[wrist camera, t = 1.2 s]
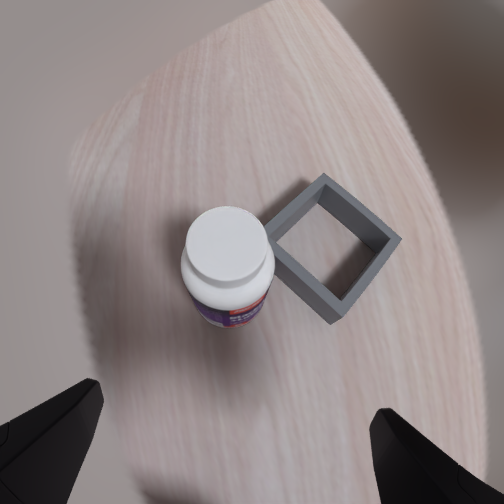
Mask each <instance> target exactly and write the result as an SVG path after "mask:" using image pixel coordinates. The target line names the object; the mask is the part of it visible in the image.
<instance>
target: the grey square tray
mask: <svg viewBox="0 0 504 504" xmlns="http://www.w3.org/2000/svg"><path fill="white" fill-rule="evenodd" d="M316 203H319V204H320V205H321V206H322V207H323V208H325V209H326V210H327V211H328V212H329V213H331V214H332V215H333V216H334V217H335V218H337V219H338V220H339V221H340V222H341V223H342V224H344V225H345V226H346V227H347V228H348V229H349V230H351V231H352V232H353V233H354V234H355V235H356V236H357V237H359V238H360V239H361V240H362V241H363V242H364V243H365V244H366V245H368V246H369V247H370V248H371V249H372V250H373V251H374V252H375V253H376V254H375V255H374V257H373V258H372V259H371V261H370V262H369V263H368V264H367V266H366V267H365V268H364V270H363V271H362V272H361V273H360V275H359V276H358V277H357V278H356V280H355V281H354V282H353V283H352V284H351V286H350V287H349V288H348V289H347V291H346V292H345V293H344V294H343V295H342V297H341V298H340V299H338V298H337V297H336V296H335V295H334V294H333V293H331V292H330V291H329V290H328V289H327V288H326V287H325V286H324V285H323V284H322V283H320V282H319V281H318V280H317V279H316V278H315V277H314V276H313V275H312V274H310V273H309V272H308V271H307V270H306V269H305V268H304V267H303V266H302V265H300V264H299V263H298V262H297V261H296V260H295V259H294V258H293V257H291V256H290V255H289V254H288V253H287V252H286V251H285V250H284V249H283V248H281V247H280V246H279V245H278V244H277V243H276V242H277V241H278V240H279V239H280V238H281V237H282V236H283V235H284V234H285V233H286V232H287V231H288V230H289V229H290V228H291V227H292V226H293V225H294V224H296V223H297V222H298V221H299V220H300V219H301V218H302V217H303V216H304V215H305V214H306V213H307V212H308V211H309V210H310V209H311V208H312V207H313V206H314V205H315V204H316ZM264 229H265V231H266V234H267V239H268V242H269V244H270V246H271V248H272V250H273V254H274V259H275V270H274V274H275V275H276V276H277V277H278V278H280V279H281V280H282V281H283V282H284V283H285V284H286V285H287V286H288V287H289V288H290V289H292V290H293V291H294V292H295V293H296V294H297V295H298V296H299V297H300V298H301V299H302V300H304V301H305V302H306V303H307V304H308V305H309V306H310V307H311V308H312V309H313V310H314V311H316V312H317V313H318V314H319V315H320V316H321V317H322V318H323V319H324V320H325V321H327V322H328V323H329V324H330V325H331V324H333V323H334V322H336V321H338V320H339V319H341V318H343V317H344V315H345V314H346V313H347V312H348V310H349V309H350V308H351V307H352V305H353V304H354V303H355V302H356V300H357V299H358V298H359V297H360V295H361V294H362V293H363V292H364V290H365V289H366V288H367V286H368V285H369V284H370V283H371V281H372V280H373V279H374V277H375V276H376V275H377V273H378V272H379V271H380V269H381V268H382V267H383V265H384V264H385V262H386V261H387V260H388V258H389V257H390V255H391V254H392V253H393V251H394V250H395V248H396V247H397V246H398V244H399V243H400V241H401V240H402V238H401V237H400V236H398V235H397V234H396V233H395V232H394V231H393V230H392V229H391V228H390V227H388V226H387V225H386V224H385V223H384V222H383V221H382V220H381V219H379V218H378V217H377V216H376V215H375V214H374V213H372V212H371V211H370V210H369V209H368V208H367V207H365V206H364V205H363V204H362V203H361V202H359V201H358V200H357V199H356V198H355V197H353V196H352V195H351V194H350V193H349V192H347V191H346V190H345V189H344V188H342V187H341V186H340V185H339V184H337V183H336V182H335V181H334V180H332V179H331V178H330V177H329V176H327V175H326V174H325V173H323V174H322V175H321V176H320V177H318V178H317V179H316V180H315V181H314V182H313V183H312V184H311V185H309V186H308V187H307V188H306V189H305V190H304V191H303V192H302V193H300V194H299V195H298V196H297V197H296V198H295V199H294V200H293V201H291V202H290V203H289V204H288V205H287V206H286V207H285V208H284V209H283V210H281V211H280V212H279V213H278V214H277V215H276V216H275V217H274V218H273V219H271V220H270V221H269V222H268V223H267V224H266V225H265V226H264Z"/></svg>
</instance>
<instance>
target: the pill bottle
mask: <svg viewBox="0 0 504 504" xmlns="http://www.w3.org/2000/svg"><path fill="white" fill-rule="evenodd" d="M274 270H275V259H274V254H273V250H272V248H271V246H270V244H269V242H268V239H267V234H266V231H265V229H264V227H263V225H262V224H261V222H260V221H259V220H258V219H257V218H256V217H255V216H254V215H253V214H251V213H250V212H248V211H246V210H244V209H241V208H238V207H233V206H222V207H217V208H213V209H210V210H208V211H206V212H204V213H203V214H201V215H200V216H199V217H197V218H196V220H195V221H194V222H193V223H192V225H191V226H190V228H189V230H188V233H187V237H186V245H185V247H184V249H183V252H182V256H181V273H182V277H183V280H184V283H185V285H186V287H187V290H188V292H189V294H190V296H191V297H192V300H193V301H194V304H195V306H196V307H197V309H198V311H199V312H200V314H201V315H202V316H203V317H204V318H205V319H206V320H207V321H208V322H210V323H211V324H213V325H216V326H219V327H223V328H236V327H240V326H243V325H245V324H247V323H249V322H250V321H251V320H253V319H254V318H255V317H256V315H257V314H258V313H259V311H260V310H261V308H262V306H263V303H264V300H265V298H266V295H267V292H268V290H269V287H270V285H271V282H272V279H273V275H274Z"/></svg>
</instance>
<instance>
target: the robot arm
mask: <svg viewBox="0 0 504 504" xmlns="http://www.w3.org/2000/svg"><path fill="white" fill-rule="evenodd" d="M103 403H104V398H103V394H102V390H101V387H100V383H99V382H98V381H97V380H93V379H90V378H87V379H84V380H83V381H81V382H79V383H77V384H76V385H74V386H72V387H70V388H68V389H67V390H65V391H63V392H61V393H60V394H58V395H56V396H54V397H53V398H51V399H49V400H47V401H45V402H44V403H42V404H40V405H38V406H36V407H34V408H33V409H31V410H29V411H27V412H25V413H23V414H22V415H20V416H18V417H16V418H14V419H12V420H10V422H7V423H5V424H3V425H1V426H0V504H67V501H68V498H69V496H70V493H71V491H72V488H73V486H74V483H75V481H76V478H77V476H78V473H79V471H80V468H81V466H82V463H83V461H84V458H85V456H86V454H87V451H88V449H89V447H90V444H91V442H92V439H93V436H94V433H95V430H96V426H97V423H98V419H99V416H100V413H101V410H102V407H103ZM369 431H370V440H371V449H372V458H373V467H374V472H375V477H376V481H377V486H378V491H379V495H380V500H381V504H504V494H502V493H501V492H499V491H497V490H496V489H494V488H492V487H491V486H489V485H487V484H486V483H484V482H483V481H481V480H480V479H478V478H477V477H475V476H474V475H472V474H471V473H470V472H468V471H467V470H466V469H464V468H463V467H462V466H461V465H458V463H457V462H456V461H454V460H453V459H452V458H451V457H449V456H448V455H447V454H446V453H444V452H443V451H442V450H441V449H440V448H438V447H437V446H436V445H435V444H433V443H432V442H431V441H430V440H429V439H427V438H426V437H425V436H424V435H422V434H421V433H420V432H419V431H418V430H416V429H415V428H414V427H413V426H412V425H410V424H409V423H408V422H407V421H406V420H404V419H403V418H402V417H401V416H400V415H398V414H397V413H396V412H395V411H394V410H393V409H391V408H381V409H379V410H378V411H377V412H376V414H375V416H374V418H373V420H372V422H371V424H370V428H369Z"/></svg>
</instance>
